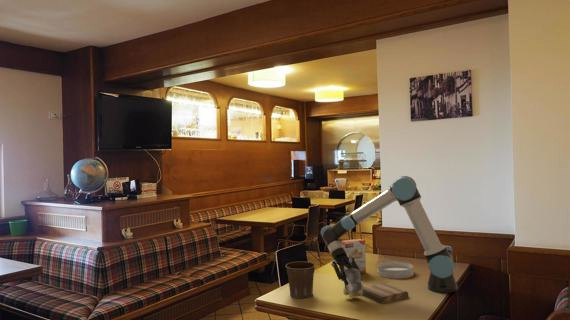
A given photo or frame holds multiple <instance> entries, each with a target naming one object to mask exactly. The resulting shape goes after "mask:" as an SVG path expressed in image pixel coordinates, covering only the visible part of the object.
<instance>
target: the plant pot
mask: <svg viewBox="0 0 570 320" xmlns="http://www.w3.org/2000/svg"><path fill="white" fill-rule="evenodd" d="M315 267H316V264H315V263H314V262H310V261H292V262H288V263H286V264H285V268H286V273H287V277H288V286H289V287H288V288H289V295H290V296H291V297H293V298H295V299H304V298H310V297H312V296H313V293H314V292H313V291H314V274H315Z"/></svg>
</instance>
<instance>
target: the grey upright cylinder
mask: <svg viewBox="0 0 570 320" xmlns="http://www.w3.org/2000/svg"><path fill="white" fill-rule="evenodd" d="M344 272H345V276H346V278H347V277H348V279H349V281H350V283H351V285H352V287H353V290H352V291H351V292H350V291H349V289H348V287H347V285H345V284H344V288H343V295H345V296H348V297H350V298H351V299H352V298H358V297H361V296H363V290H361V279H362V277H361V274H360V272H361V271H360V270H358V269H355V268H351V269H346V270H344Z"/></svg>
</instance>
